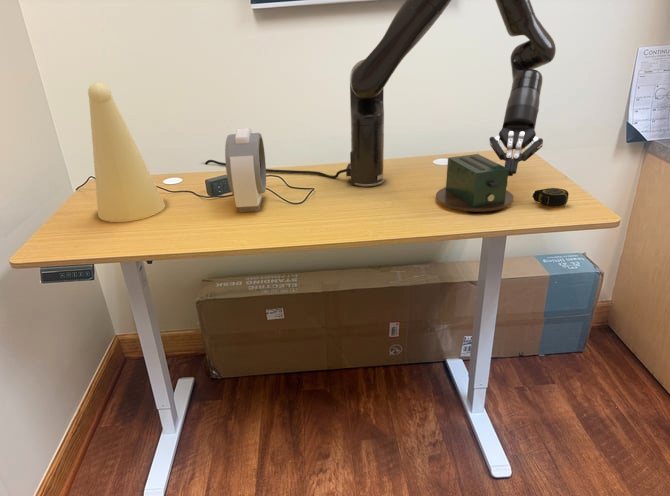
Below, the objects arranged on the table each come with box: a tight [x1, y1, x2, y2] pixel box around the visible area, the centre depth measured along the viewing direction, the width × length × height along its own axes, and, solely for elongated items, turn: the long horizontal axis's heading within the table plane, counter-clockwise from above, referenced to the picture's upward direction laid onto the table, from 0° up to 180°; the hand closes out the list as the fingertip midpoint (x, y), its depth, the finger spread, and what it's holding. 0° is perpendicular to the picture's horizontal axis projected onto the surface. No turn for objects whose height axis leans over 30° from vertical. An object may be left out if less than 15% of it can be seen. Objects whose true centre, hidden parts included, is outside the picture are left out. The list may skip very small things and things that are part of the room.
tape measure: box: [532, 187, 569, 208], centre depth 131 cm, size 7×7×4 cm
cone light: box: [87, 81, 166, 223], centre depth 137 cm, size 25×18×35 cm
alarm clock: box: [224, 127, 267, 213], centre depth 141 cm, size 18×8×20 cm, turn 179°
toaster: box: [435, 153, 515, 213], centre depth 135 cm, size 19×19×9 cm
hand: (509, 174), depth 129 cm, fingers closed
